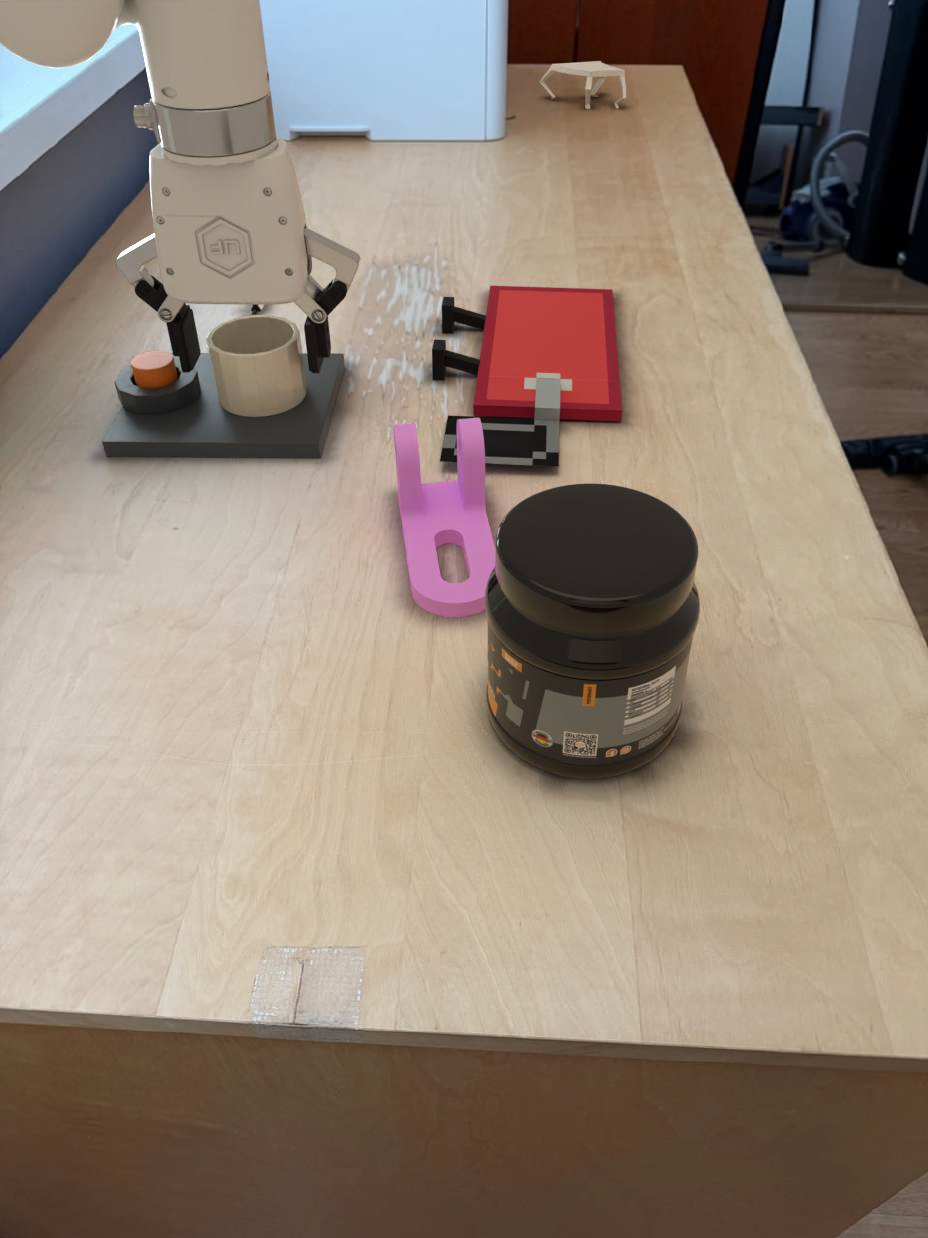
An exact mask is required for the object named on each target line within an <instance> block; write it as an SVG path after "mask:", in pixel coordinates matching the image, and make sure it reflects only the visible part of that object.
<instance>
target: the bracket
mask: <svg viewBox="0 0 928 1238" xmlns="http://www.w3.org/2000/svg"><path fill="white" fill-rule="evenodd" d="M392 427H393V444H394V458H395V469H396V470H395V471H396V485H397V497H398V505H399V512H400V513H399V515H400V520H401V528H402V536H403V541H404V550H405V557H406V564H407V570H408V571H407V572H408V578H409V585H410V593H411V596H412V599H413V600H414V602H415V603H416V604H417V605H418V606H419V607H420V608H421V609H422V610H424V611H426V612H428V613H430V614H433V615H436V616H439V617H445V618H466V617H470V616H475V615H477V614H480V613H482V612H484V611H486V610H485V590H486V585H487V581H488V579H489V576H490V574H491V572H492V570H493V569H494V567H495V541H494V538H493V535H492V534H493V533H492V530H491V526H490V522H489V518H488V514H487V507H486V463H485V447H484V437H483V429H482V424H481V420H480V418H468V419H457V462H456V463H457V465H456V466H457V479H456V480H447V481H445V480H444V481H435V482H434V481H433V482H423V483H422V477H421V476H422V475H421V458H420V448H419V447H420V446H419V439H418V431H417V430H418V429H417V423H416V422H407V423H397V424H395V423H394V424H393V426H392ZM446 544H454V545H457V546H459V547H460V548H461V549H462V551H463V557H464V560H465V566H466V571H467V575H468V578H467V579H465V580H464V581H461V582H455V583H454V582H449V581H446V580H444V579H443V578H442V576H441V570H440V564H439V559H438V553H437V548H439V547H440V546H442V545H446Z"/></svg>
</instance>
